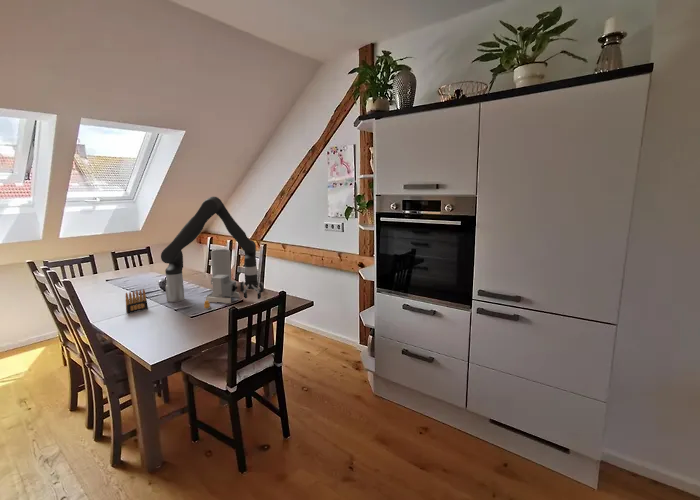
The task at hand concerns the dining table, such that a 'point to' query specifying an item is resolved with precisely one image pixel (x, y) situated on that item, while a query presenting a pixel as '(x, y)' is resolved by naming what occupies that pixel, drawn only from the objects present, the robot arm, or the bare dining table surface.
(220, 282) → the circuit breaker
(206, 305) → the orange wire nut
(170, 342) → the dining table surface
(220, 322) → the dining table surface
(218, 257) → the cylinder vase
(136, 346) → the dining table surface
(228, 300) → the panel slot
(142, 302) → the ammunition clip
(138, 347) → the dining table surface
